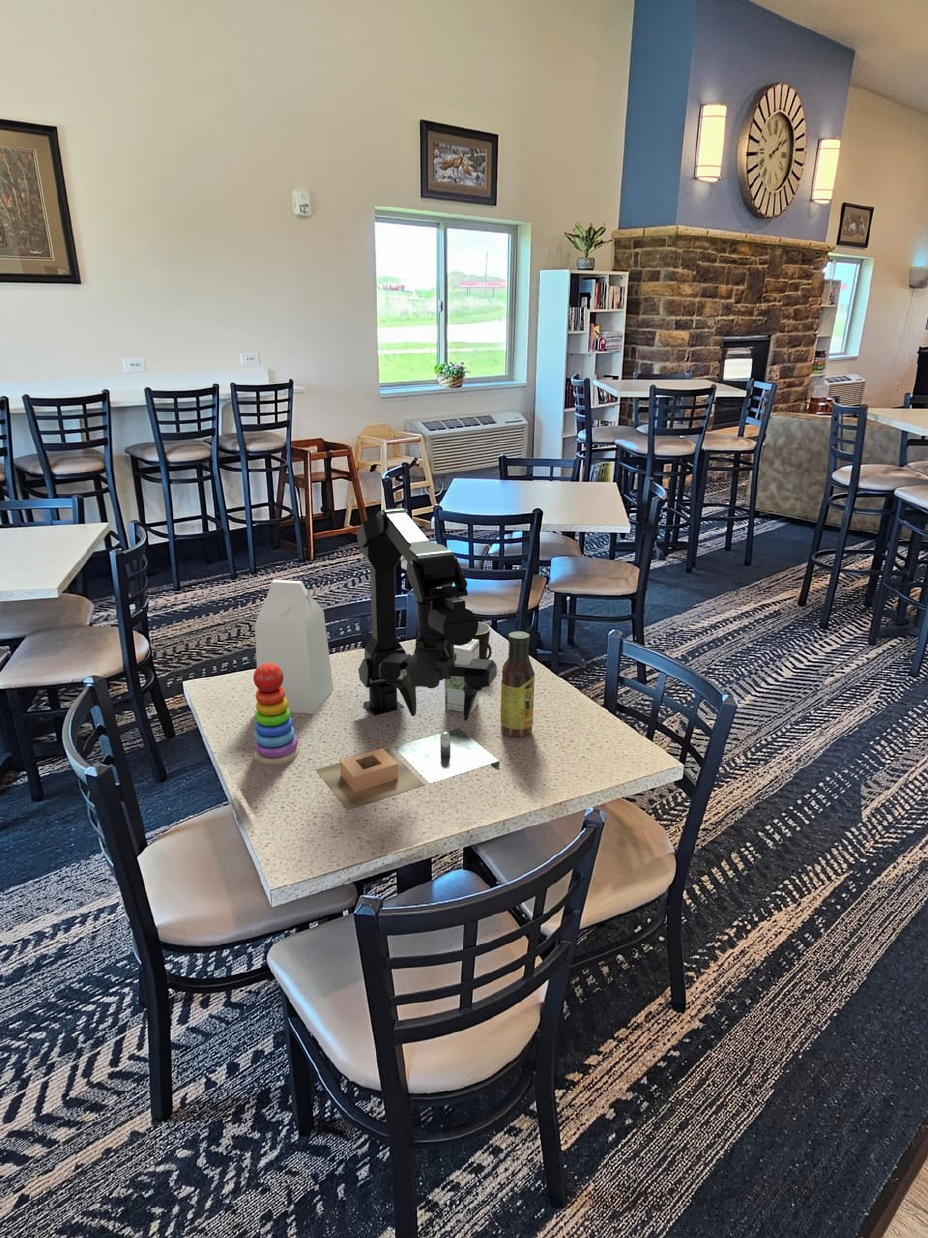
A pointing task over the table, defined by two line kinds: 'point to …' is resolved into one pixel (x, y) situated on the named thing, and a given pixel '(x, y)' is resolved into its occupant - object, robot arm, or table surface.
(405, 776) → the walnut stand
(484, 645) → the coffee mug
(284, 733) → the stacking toy
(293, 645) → the milk
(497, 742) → the table surface
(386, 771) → the square tube wooden block
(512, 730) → the sauce bottle
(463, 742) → the hub base
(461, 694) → the syrup box
